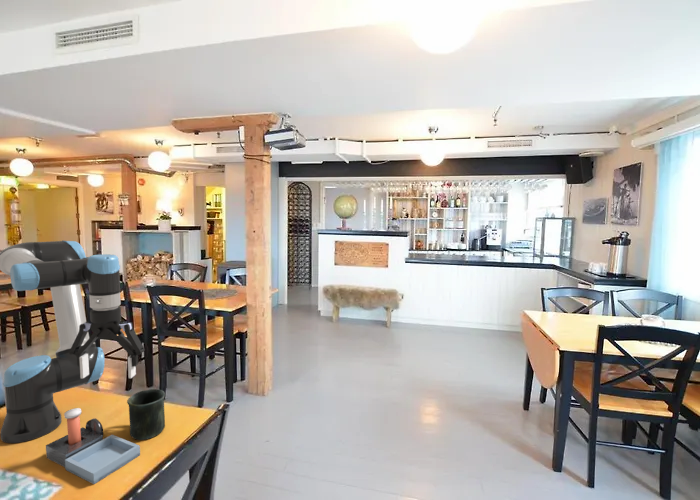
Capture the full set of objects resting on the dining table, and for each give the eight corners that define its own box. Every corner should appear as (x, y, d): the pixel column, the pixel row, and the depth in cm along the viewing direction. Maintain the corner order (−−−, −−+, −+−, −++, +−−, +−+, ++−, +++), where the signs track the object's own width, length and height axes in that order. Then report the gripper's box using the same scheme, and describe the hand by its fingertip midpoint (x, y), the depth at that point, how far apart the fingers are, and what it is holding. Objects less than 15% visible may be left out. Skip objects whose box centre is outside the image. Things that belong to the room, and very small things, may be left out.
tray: (65, 469, 101) (64, 459, 101) (112, 443, 113) (111, 434, 112) (94, 484, 96) (93, 473, 95) (140, 455, 107) (139, 445, 107)
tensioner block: (46, 458, 106) (44, 434, 105) (88, 436, 116) (87, 414, 116) (66, 468, 102) (64, 443, 101) (108, 444, 112) (107, 421, 111)
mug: (136, 446, 111) (135, 409, 110) (119, 428, 121) (117, 394, 120) (172, 430, 120) (171, 396, 119) (153, 415, 129) (152, 382, 128)
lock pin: (64, 455, 107) (61, 413, 106) (78, 447, 111) (76, 406, 110) (72, 458, 106) (69, 416, 104) (86, 450, 109) (84, 409, 108)
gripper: (51, 310, 101) (55, 382, 103) (143, 311, 103) (145, 382, 105) (69, 303, 108) (73, 370, 111) (155, 304, 110) (157, 370, 113)
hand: (108, 376), depth 108 cm, fingers open, 13 cm apart
